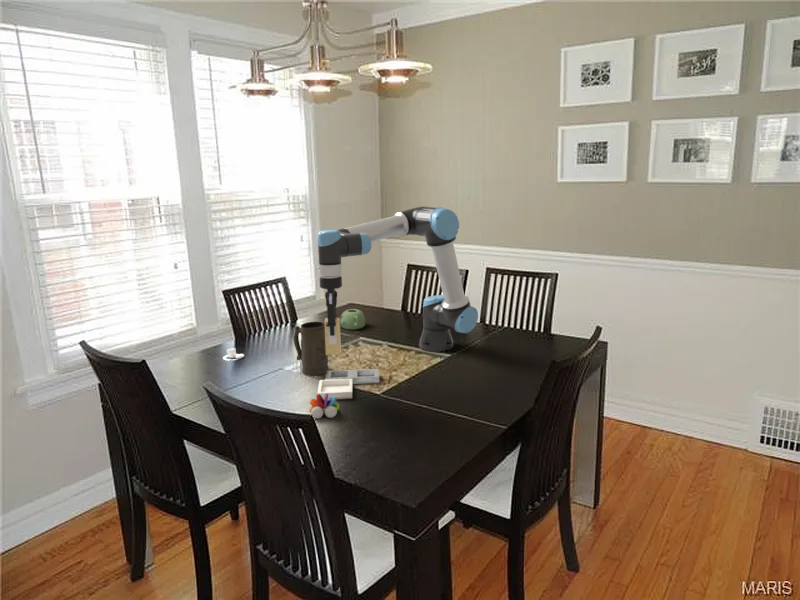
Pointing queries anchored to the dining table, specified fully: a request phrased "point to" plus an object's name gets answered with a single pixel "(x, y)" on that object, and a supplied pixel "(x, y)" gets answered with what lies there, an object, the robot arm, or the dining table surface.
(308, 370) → the beer stein
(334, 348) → the tan knobbed block
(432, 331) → the robot arm
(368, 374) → the gray rectangular frame
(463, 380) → the dining table surface
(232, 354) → the white valve handwheel
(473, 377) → the dining table surface
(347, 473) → the dining table surface
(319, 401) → the rainbow petal fan toy
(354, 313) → the green dome pot
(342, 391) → the parts tray
